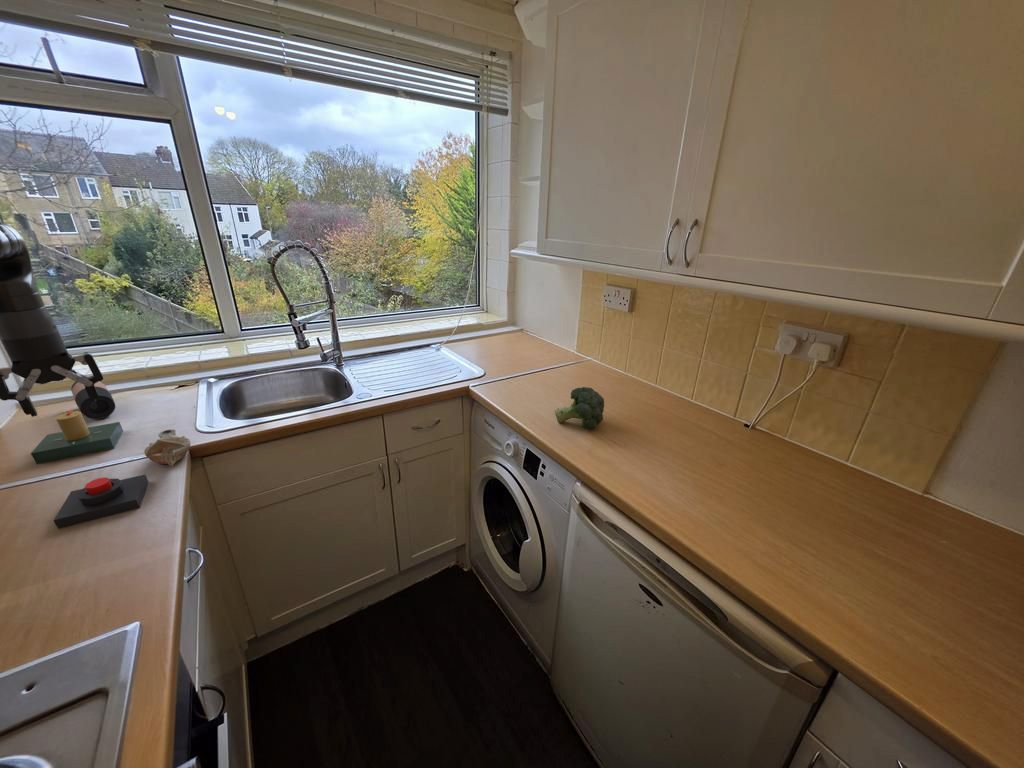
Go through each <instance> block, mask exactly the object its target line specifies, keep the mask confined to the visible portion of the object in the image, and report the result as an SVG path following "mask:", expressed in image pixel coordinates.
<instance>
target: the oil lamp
mask: <svg viewBox="0 0 1024 768" xmlns="http://www.w3.org/2000/svg"><path fill="white" fill-rule="evenodd" d="M158 437H159V439H157V440H156V441H155V442H150V443H149V444H148V446H147V447H145V449H144V451H143V452H144V456H145V457H146V458H147V459H149V460H150V461H152V462H154V463H156V464H160V465H168V466H169V467H173V466H174V465H175V463H176V462H179V461H180V460H182V459H183V458H184V457H185V456H186V455H187V453H188V452H189V451H190V448H191V440H190V439H189V438H188V437H185V435H182V436H177V434H176V429H166V430H163V431H160V432H159V433H158Z"/></svg>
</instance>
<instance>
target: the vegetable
mask: <svg viewBox="0 0 1024 768" xmlns="http://www.w3.org/2000/svg"><path fill="white" fill-rule="evenodd" d="M570 399H571V400H573V401H572V403H571V404H570V406H566V407H565V406H564V407H562V408H559V407H558V408H556V409H554V414H555V415H554V416H555V418H556V421H557V422H558V423H559V424H560V423H565V422H566V421H568V420H570V419H578V420H581V427H582V429H584V430H589V431H593V430H594V429H595V428H596V426H598V425H599V424H601V423H602V422H603V420H604V414H603V413H604V410H605V399H604V398H603V396H602V395H601V394H599V391H596V390H594V388H593V387H588V386H582V387H575V388H574V389H572V390H571V392H570Z"/></svg>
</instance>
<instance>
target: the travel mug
mask: <svg viewBox="0 0 1024 768" xmlns="http://www.w3.org/2000/svg"><path fill="white" fill-rule="evenodd" d="M94 386H95V389H96V391H97V393H98V396H99V398H98V399H95V400H96V402H94V403H91V400H90V398H89V396H88V394H87V391H86V389H85V386H84V385H83V384H81V383H79V382H77V381H74V383H73V384H72V385H71V388H70V391H71V395H72V396H73V399H74V403H75V404H76V406H77V408H78V409H79V412H81V414H82V416H85V417H86V418H89V419H94V420H99V419H100V420H101V419H105V418H107V417H109V416H110V415H112V414H113V413H114V412H115V409H116V403H115V400H114V398H113V396H112V394H111V392H110V391H109V389H108V388H107V386H106V385H105V382H103V381H98V382H96V383H95V384H94Z"/></svg>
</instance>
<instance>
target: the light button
mask: <svg viewBox="0 0 1024 768" xmlns="http://www.w3.org/2000/svg"><path fill="white" fill-rule="evenodd" d="M110 479H111V478H110V477H106V476H105V477H99V478H95V479H93V480H91V481H89V482H87V483H85V485H84V488H86V490H87V492H88V494H89V495H94V494H99V493H102V492H104V491H106V490H109V489H110V488H111V487H112V484H111V481H110Z"/></svg>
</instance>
